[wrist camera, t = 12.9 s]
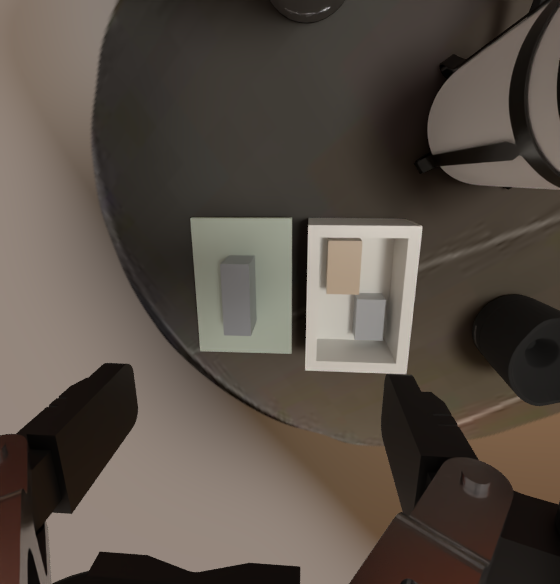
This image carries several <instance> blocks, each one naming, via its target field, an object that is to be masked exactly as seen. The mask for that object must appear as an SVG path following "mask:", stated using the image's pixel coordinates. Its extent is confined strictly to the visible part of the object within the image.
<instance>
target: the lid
mask: <svg viewBox="0 0 560 584" xmlns="http://www.w3.org/2000/svg"><path fill="white" fill-rule="evenodd" d="M190 221H191V234H192V247H193V260H194V274H195V287H196V300H197V313H198V326H199V340H200V351H215V352H250V353H285V354H291V353H292V217H192V218H190Z"/></svg>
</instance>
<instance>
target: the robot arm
mask: <svg viewBox="0 0 560 584" xmlns="http://www.w3.org/2000/svg"><path fill="white" fill-rule="evenodd" d="M270 1H271V3H272V4H273V6H274V7H275V8H276V9H277V10H278V11H279V12H280V13H281V14H282V15H284V16H286V17H287V18H289V19H291V20H294V21H297V22H305V23H309V22H316V21H319V20H322V19H324V18H326V17H328V16H329V15H331V14H332V13H334V12H335V11H336V10H337V9H338V8H339V7H340V6H341V5H342V4H343V2H344V1H345V0H270ZM137 414H138V404H137V396H136V388H135V382H134V373H133V368H132V366H131V365H129V364H117V363H105V364H103V365H102V366H101V367H100V368H99V369H97V371H95V372H94V373H93V374H92V375H91V376H90V377H89V378H85V379H84V380H82V381H80V382H78V383H76V384H74V385H72V386H70V387H69V388H68V389H67V390H66V391H64V392H63V393H62V394H61V395H60V396H59V398H58V399H56V400H54V401H53V402H52V403H51V404H50V405H49V407H46V408H45V409H44V410H43V411H42V412H40V413H39V414H38V415H37V416H36V417H35V418H34V419H32V420H31V421H30V422H29V423H28V424H27V425H26V426H24V427H23V428H22V429H21V430H20V431H19V432H18V433H16V434H5V435H0V584H51V571H50V554H49V537H48V527H47V524H46V519H47V518H48V517H49V516H50V514H51V513H52V512H54V513H70V514H72V513H73V511H74V510H75V508H76V507H77V506H78V504H79V503H80V501H81V500H82V498H83V497H84V496H85V494H86V493H87V491H88V490H89V488H90V487H91V486H92V484H93V483H94V482H95V480H96V479H97V477H98V476H99V474H100V473H101V472H102V470H103V469H104V467H105V466H106V464H107V463H108V462H109V460H110V459H111V458H112V456H113V454H114V453H115V452H116V450H117V449H118V448H119V446H120V445H121V443H122V442H123V441H124V439H125V438H126V436H127V435H128V434H129V432H130V431H131V429H132V428H133V426H134V424H135V422H136V419H137ZM381 431H382V438H383V442H384V446H385V450H386V453H387V456H388V460H389V464H390V468H391V471H392V475H393V478H394V482H395V486H396V489H397V493H398V496H399V500H400V503H401V507H402V511H403V512H401V513H399V514H397V515H396V517H395V518H394V519H393V520H392V522H391V523H390V525H389V526H388V528H387V529H386V531H385V532H384V534H383V535H382V536H381V538H380V539H379V541H378V543H377V544H376V545H375V547H374V548H373V550H372V551H371V553H370V554H369V555H368V557H367V558H366V560H365V561H364V563H363V564H362V566H361V567H360V569H359V570H358V572H357V573H356V574H355V576H354V577H353V579H352V580H351V582H350V583H349V584H560V502H559V505H558V504H554V503H551V502H548V501H544V500H541V499H537V498H533V497H530V496H527V495H524V494H521V493H518V492H516V491H514V490H513V488H512V486H511V484H510V482H509V481H508V480H507V478H506V477H505V476H504V475H503V474H502V473H501V472H499V471H498V470H497V469H495V468H494V467H492V466H490V465H488V464H486V463H484V462H482V461H479V460H478V458H477V457H476V455H475V453H474V452H473V450H472V448H471V446H470V445H469V443H468V441H467V440H466V438H465V436H464V435H463V433H462V431H461V430H460V428H459V427H458V426H457V423H456V421H455V419H454V418H453V417H452V416H451V413H450V411H449V409H448V408H447V406H446V404H445V403H444V402H443V401H442V400H441V399H439V398H438V397H437V396H435V395H434V394H433V393H432V392H421V390H420V388H419V387H418V385H417V383H416V381H415V379H414V377H413V376H412V375H403V374H386V377H385V383H384V394H383V404H382V415H381ZM53 584H300V567H297V566H284V565H271V564H257V563H247V564H241V565H236V566H230V567H224V568H219V569H214V570H208V571H203V572H190V571H187V570H185V569H182V568H179V567H177V566H174V565H171V564H169V563H166V562H164V561H161V560H158V559H156V558H153V557H150V556H148V555H137V554H124V553H110V552H99V554H98V556H97V558H96V559H95V561H94V563H93V565H92V566H91V568H90V570H89V571H87V572H83V573H79V574H76V575H72V576H69V577H67V578H64V579H62V580H59V581H57V582H55V583H53Z"/></svg>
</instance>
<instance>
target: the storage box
mask: <svg viewBox="0 0 560 584" xmlns="http://www.w3.org/2000/svg"><path fill="white" fill-rule="evenodd" d="M422 227H423V226H421V225H419V224H417V223H414V222H412V221H410V220H407V219H405V218H308V258H307V307H306V355H305V370H309V371H337V372H364V373H391V374H406V372H407V363H408V354H409V345H410V336H411V327H412V318H413V309H414V299H415V290H416V281H417V272H418V263H419V254H420V245H421V236H422Z"/></svg>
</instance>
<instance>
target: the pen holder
mask: <svg viewBox="0 0 560 584" xmlns="http://www.w3.org/2000/svg"><path fill="white" fill-rule="evenodd" d="M472 334H473V340H474V343H475V345H476V347H477V348H478V350H479V351H480V352H481V353H482V355H483V356H484V357H485V358H486V360H487V361H488V362H489V363H490V364H491V366H492V367H493V368H494V369H495V370H496V371H497V372H498V374H499V375H500V376H501V377H502V378H503V379H504V381H505V382H506V383H507V384H508V385H509V386H510V388H511V389H512V390H513V391H514V392H515V393H516V395H517V396H518V397H520V398H521V399H522V400H523V401H525V402H527V403H529V404H531V405H535V406H543V405H549V404H554V403H559V402H560V311H559V310H557V309H555V308H553V307H550V306H548V305H546V304H544V303H542V302H539V301H537V300H535V299H533V298H530V297H527V296H523V295H507V296H503V297H500V298H497V299H495V300H493V301H491V302H490V303H488V304H487V305H486V306H485V307H484V308H483V309H482V310H481V311H480V312H479V314H478V315H477V317H476V319H475V321H474V324H473V330H472Z"/></svg>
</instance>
